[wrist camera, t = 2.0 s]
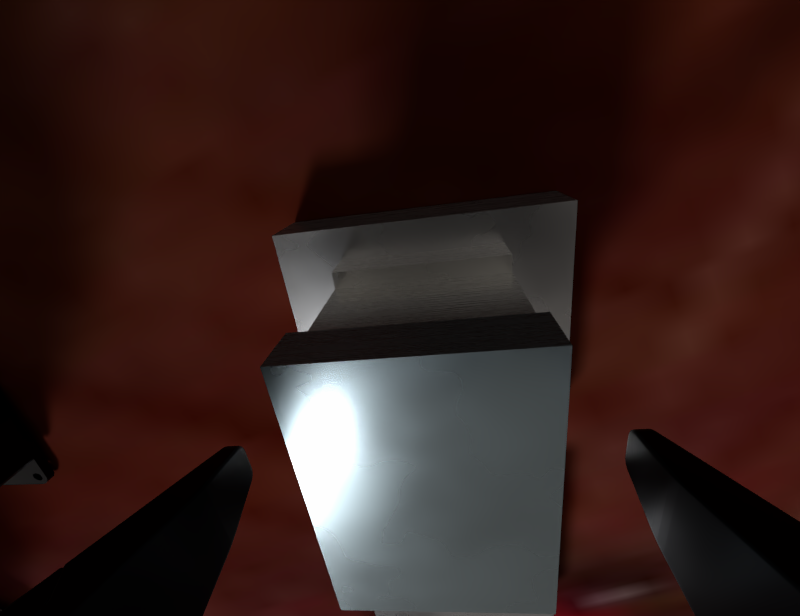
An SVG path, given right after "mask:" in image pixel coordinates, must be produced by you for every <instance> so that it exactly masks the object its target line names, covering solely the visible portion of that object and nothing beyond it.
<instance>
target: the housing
mask: <svg viewBox="0 0 800 616" xmlns="http://www.w3.org/2000/svg"><path fill="white" fill-rule="evenodd" d="M332 278H333V282H334V287H335V290H334V292H333V293H332V295H331V296H330V298H329V299H328V301H327V302H326V304H325V305H324V307H323V308H322V310H321V311H320V313H319V314H318V316H317V318H316V319H315V321H314V322H313V324H312V325H311V327H310V328H309V330H308V331H305V332H293V333H286V334H285V335H284V336H283V338H282V339H281V340H280V341H279V343H278V344H277V345H276V347H275V348H274V349H273V351H272V352H271V353H270V355H269V356H268V357H267V359H266V360H265V361H264V363H263V364H262V365H261V367H260V368H261V371H262V374H263V377H264V380H265V383H266V386H267V389H268V392H269V395H270V398H271V401H272V404H273V407H274V410H275V413H276V416H277V419H278V422H279V425H280V428H281V431H282V434H283V437H284V440H285V443H286V446H287V449H288V452H289V455H290V458H291V461H292V464H293V467H294V470H295V473H296V476H297V479H298V482H299V485H300V488H301V491H302V494H303V497H304V500H305V503H306V506H307V509H308V512H309V515H310V518H311V521H312V524H313V527H314V530H315V533H316V536H317V539H318V542H319V545H320V548H321V551H322V554H323V557H324V560H325V563H326V566H327V569H328V572H329V575H330V578H331V581H332V584H333V587H334V590H335V593H336V596H337V599H338V602H339V605H340V608H341V610H368V611H418V612H468V613H518V614H556V602H557V585H558V569H559V553H560V537H561V521H562V505H563V489H564V473H565V456H566V440H567V424H568V408H569V392H570V376H571V360H572V344H571V343H570V341H569V340H568V338H567V337H566V335H565V334H564V332H563V331H562V329H561V327H560V326H559V324H558V323H557V321H556V320H555V318H554V317H553V315H552V314H551V312H540V313H536V312H535V310H534V309H533V307H532V305H531V304H530V302H529V300H528V298H527V297H526V295H525V293H524V291H523V290H522V288H521V286H520V284H519V283H518V281H517V279H516V278H515V276H514V274H513V272H512V253H511V252H510V250H509V249H508V247H507V246H506V244H505V243H500V244H491V245H481V246H472V247H462V248H453V249H443V250H434V251H424V252H415V253H405V254H396V255H386V256H377V257H367V258H358V259H348V260H341V261H340V262H339V264H338V265H337V266H336V268H335V269H334V270H333V272H332Z"/></svg>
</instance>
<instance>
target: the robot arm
mask: <svg viewBox="0 0 800 616" xmlns="http://www.w3.org/2000/svg"><path fill="white" fill-rule="evenodd" d="M625 460H626V466H627V469H628V472H629V474H630V477H631V479H632V482H633V484H634V487H635V489H636V492H637V494H638V497H639V499H640V502H641V504H642V507H643V509H644V512H645V514H646V517H647V519H648V522H649V524H650V527H651V529H652V532H653V534H654V536H655V539H656V541H657V543H658V545H659V547H660V549H661V551H662V553H663V555H664V557H665V559H666V561H667V563H668V565H669V566H670V568H671V570H672V572H673V574H674V576H675V578H676V580H677V582H678V584H679V586H680V588H681V589H682V591H683V593H684V595H685V597H686V599H687V601H688V603H689V605H690V607H691V609H692V611H693V612H694V614H695V616H800V522H799V521H798V520H796V519H795V518H793V517H791V516H790V515H788V514H787V513H785V512H783V511H782V510H780V509H779V508H777V507H775V506H774V505H772V504H771V503H769V502H767V501H766V500H764V499H763V498H761V497H760V496H758V495H756V494H755V493H753V492H752V491H750V490H748V489H747V488H745V487H744V486H742V485H740V484H739V483H737V482H736V481H734V480H732V479H731V478H729V477H728V476H726V475H725V474H723V473H721V472H720V471H718V470H717V469H715V468H713V467H712V466H710V465H709V464H707V463H705V462H704V461H702V460H701V459H699V458H697V457H696V456H694V455H693V454H691V453H689V452H688V451H686V450H685V449H683V448H682V447H680V446H678V445H677V444H675V443H674V442H672V441H670V440H669V439H667V438H666V437H664V436H662V435H661V434H659V433H658V432H656V431H654V430H652V429H634V430H631V431H630V433H629V437H628V443H627V450H626V458H625ZM53 476H54V471H53V469H52V468H51V467H50V465H49V464H48V462H47V461H46V459H45V458H44V456H43V455H42V454H41V452H40V451H39V449H38V448H37V446H36V445H35V443H34V442H33V440H32V439H31V438H30V436H29V435H28V433H27V432H26V430H25V429H24V427H23V426H22V424H21V423H20V422H19V420H18V419H17V417H16V416H15V414H14V413H13V411H12V410H11V408H10V407H9V406H8V404H7V403H6V401H5V400H4V398H3V397H2V395H1V394H0V487H1V486H2V485H18V484H44V483H46V482H47V481H49V480H50V479H51V478H52V477H53ZM252 476H253V473H252V468H251V465H250V463H249V460H248V458H247V455H246V453H245V450H244V448H242V447H241V446H227V447H224V448H222V449H221V450H220V451H218V452H217V453H215V454H214V455H213V456H211V457H210V458H209V459H207V460H206V461H205V462H203V463H202V464H201V465H199V466H198V467H197V468H195V469H194V470H192V471H191V472H190V473H188V474H187V475H186V476H184V477H183V478H182V479H180V480H179V481H178V482H176V483H175V484H174V485H172V486H171V487H169V488H168V489H167V490H165V491H164V492H163V493H161V494H160V495H159V496H157V497H156V498H155V499H153V500H152V501H150V502H149V503H148V504H146V505H145V506H144V507H142V508H141V509H140V510H138V511H137V512H136V513H134V514H133V515H132V516H130V517H129V518H127V519H126V520H125V521H123V522H122V523H121V524H119V525H118V526H117V527H115V528H114V529H113V530H111V531H110V532H108V533H107V534H106V535H104V536H103V537H102V538H100V539H99V540H98V541H96V542H95V543H94V544H92V545H91V546H90V547H88V548H87V549H85V550H84V551H83V552H81V553H80V554H79V555H77V556H76V557H75V558H73V559H72V560H71V561H69V562H68V563H66V564H65V566H64V568H60V569H58V570H57V571H56V572H54V573H53V574H51V575H50V576H49V577H47V578H46V579H45V580H43V581H42V582H41V583H39V584H38V585H37V586H35V587H34V588H32V589H31V590H30V591H28V592H27V593H25V594H24V595H23V596H21V597H20V598H19V599H17V600H16V601H14V602H13V603H12V604H10V605H9V606H7V607H6V608H5V609H3V610H2V611H0V616H203V614H204V611H205V609H206V607H207V604H208V602H209V599H210V597H211V594H212V592H213V589H214V587H215V585H216V582H217V580H218V577H219V575H220V572H221V570H222V568H223V565H224V563H225V560H226V558H227V555H228V553H229V550H230V548H231V545H232V542H233V539H234V536H235V533H236V530H237V527H238V524H239V521H240V517H241V514H242V511H243V507H244V504H245V501H246V498H247V494H248V491H249V488H250V485H251V481H252Z"/></svg>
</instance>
